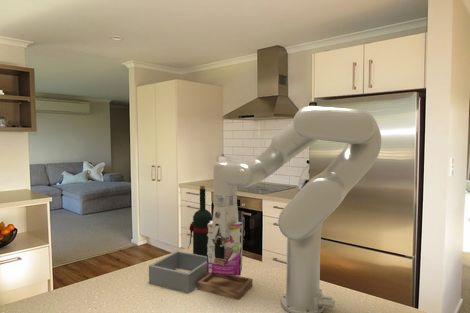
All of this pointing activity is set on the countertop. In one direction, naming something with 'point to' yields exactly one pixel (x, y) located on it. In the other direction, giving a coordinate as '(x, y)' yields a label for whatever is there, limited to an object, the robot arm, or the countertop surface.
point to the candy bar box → (226, 252)
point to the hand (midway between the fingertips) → (224, 253)
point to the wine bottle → (200, 226)
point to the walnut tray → (225, 285)
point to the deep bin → (177, 280)
